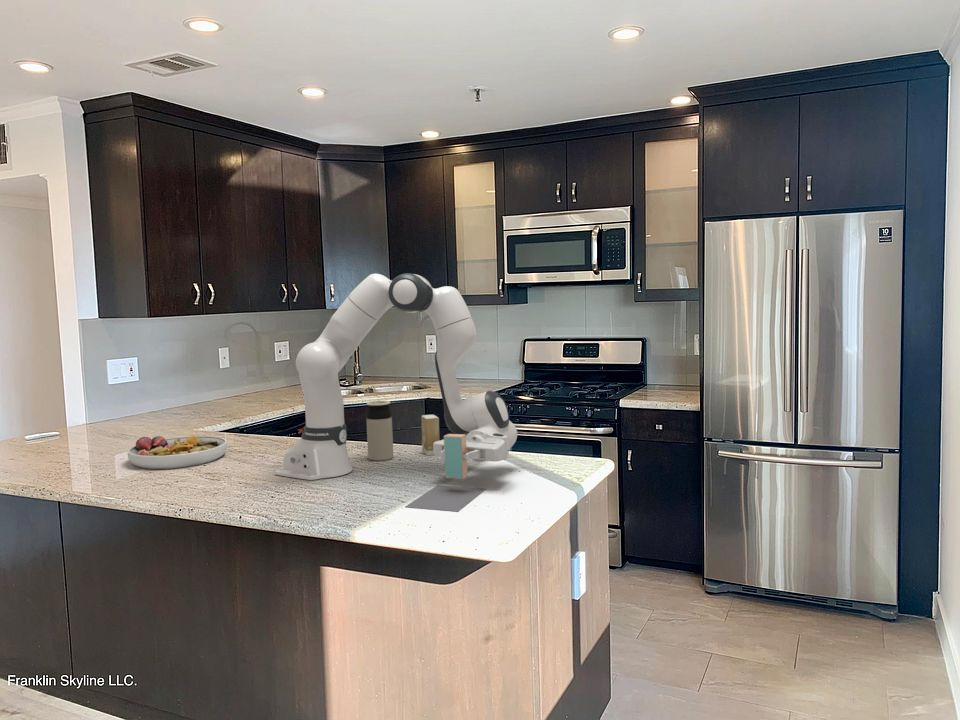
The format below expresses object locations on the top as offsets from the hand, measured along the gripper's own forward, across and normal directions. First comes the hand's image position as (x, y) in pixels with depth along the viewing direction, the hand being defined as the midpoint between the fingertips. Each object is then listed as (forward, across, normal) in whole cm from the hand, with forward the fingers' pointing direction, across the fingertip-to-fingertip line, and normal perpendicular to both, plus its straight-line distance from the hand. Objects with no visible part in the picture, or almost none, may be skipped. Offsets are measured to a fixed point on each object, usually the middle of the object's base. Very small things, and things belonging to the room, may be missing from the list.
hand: (453, 456), depth 183 cm
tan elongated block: (-1, 0, +6) cm, 6 cm away
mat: (+5, +1, +10) cm, 11 cm away
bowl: (+4, -104, +10) cm, 105 cm away
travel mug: (-24, -43, +10) cm, 50 cm away
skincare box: (-36, -32, +10) cm, 49 cm away
